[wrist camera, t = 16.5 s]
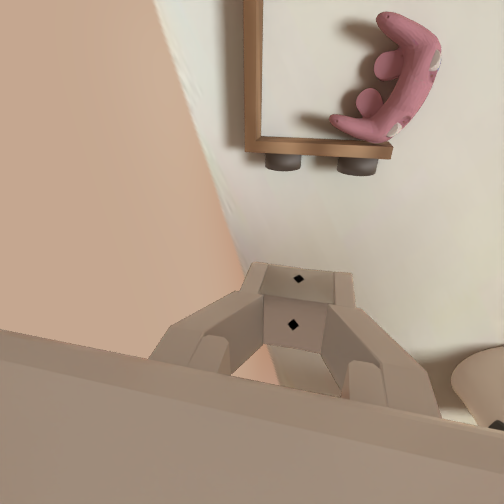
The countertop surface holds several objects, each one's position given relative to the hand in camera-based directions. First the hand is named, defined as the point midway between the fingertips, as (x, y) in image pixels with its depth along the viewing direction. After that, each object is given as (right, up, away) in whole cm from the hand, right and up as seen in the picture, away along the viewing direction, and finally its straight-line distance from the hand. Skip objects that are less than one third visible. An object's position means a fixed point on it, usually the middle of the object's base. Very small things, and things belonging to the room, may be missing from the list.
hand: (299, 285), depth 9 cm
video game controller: (+8, +18, +19) cm, 28 cm away
